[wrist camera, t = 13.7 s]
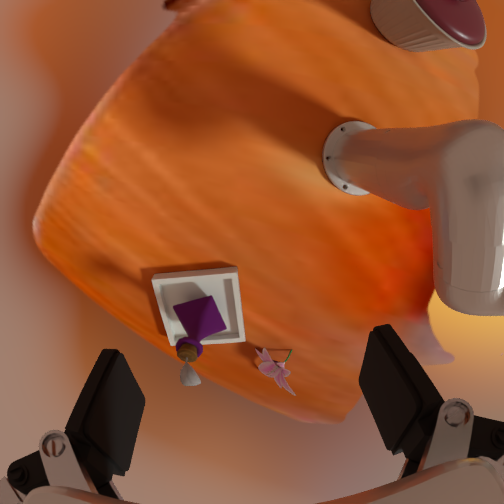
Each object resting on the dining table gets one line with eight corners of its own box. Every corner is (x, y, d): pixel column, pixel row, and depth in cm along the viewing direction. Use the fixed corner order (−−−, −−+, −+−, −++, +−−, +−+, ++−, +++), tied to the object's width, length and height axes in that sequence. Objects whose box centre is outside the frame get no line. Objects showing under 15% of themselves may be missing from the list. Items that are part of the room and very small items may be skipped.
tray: (237, 266, 48) (237, 272, 45) (245, 334, 53) (245, 341, 51) (154, 273, 47) (151, 279, 45) (172, 338, 53) (170, 345, 51)
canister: (371, -24, 26) (422, -71, 7) (440, 29, 30) (506, 8, 11) (339, 23, 32) (399, -31, 12) (419, 82, 36) (500, 69, 16)
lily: (266, 321, 54) (246, 358, 47) (320, 344, 51) (306, 384, 44) (255, 350, 61) (238, 382, 54) (301, 370, 59) (287, 404, 52)
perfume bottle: (175, 296, 48) (152, 366, 32) (213, 285, 48) (203, 356, 31) (191, 327, 51) (177, 399, 34) (227, 318, 51) (225, 392, 34)
